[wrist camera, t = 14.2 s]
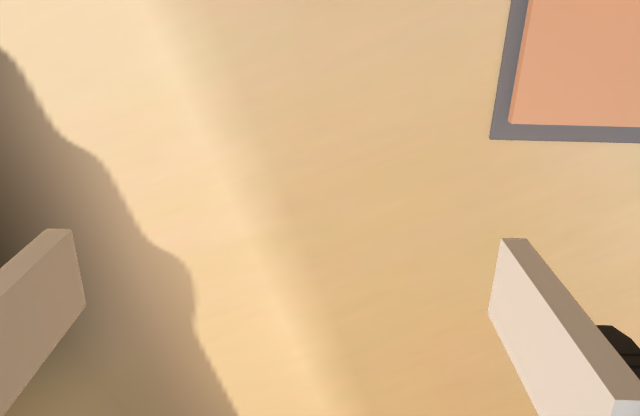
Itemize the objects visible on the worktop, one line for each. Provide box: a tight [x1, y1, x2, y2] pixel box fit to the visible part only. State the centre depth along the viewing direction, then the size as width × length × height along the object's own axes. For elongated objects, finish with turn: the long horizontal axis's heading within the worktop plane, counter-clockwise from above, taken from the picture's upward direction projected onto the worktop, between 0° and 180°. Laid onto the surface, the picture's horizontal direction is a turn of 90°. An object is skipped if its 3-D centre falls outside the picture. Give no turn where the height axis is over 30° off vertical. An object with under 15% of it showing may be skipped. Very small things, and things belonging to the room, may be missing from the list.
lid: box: [508, 0, 640, 127], centre depth 37 cm, size 18×11×5 cm, turn 179°
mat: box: [489, 0, 640, 143], centre depth 40 cm, size 17×13×1 cm
